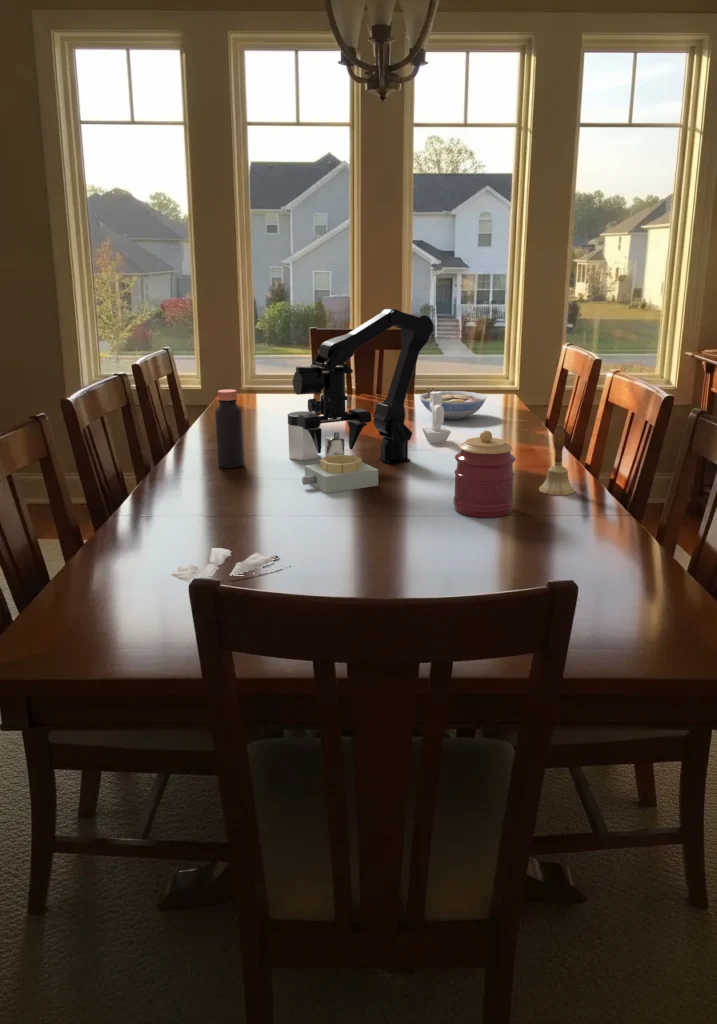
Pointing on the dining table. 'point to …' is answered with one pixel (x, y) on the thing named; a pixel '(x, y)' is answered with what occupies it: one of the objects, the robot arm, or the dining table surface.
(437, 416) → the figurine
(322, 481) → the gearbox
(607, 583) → the dining table surface
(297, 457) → the jar
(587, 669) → the dining table surface
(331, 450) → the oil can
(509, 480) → the canister
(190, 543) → the dining table surface
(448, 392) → the ramen bowl
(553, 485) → the hand bell
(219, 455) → the bottle
